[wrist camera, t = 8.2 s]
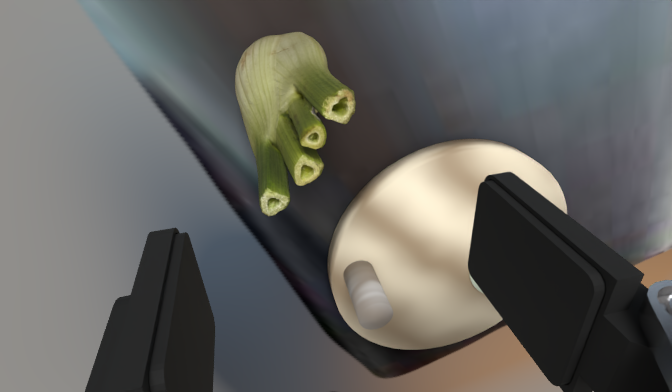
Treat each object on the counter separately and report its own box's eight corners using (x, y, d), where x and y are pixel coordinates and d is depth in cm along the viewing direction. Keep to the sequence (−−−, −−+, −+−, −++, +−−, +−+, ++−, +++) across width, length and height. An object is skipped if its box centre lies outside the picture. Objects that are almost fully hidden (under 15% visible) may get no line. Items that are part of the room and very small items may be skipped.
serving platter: (433, 87, 27) (485, 121, 22) (593, 203, 36) (658, 248, 30) (281, 297, 33) (291, 364, 28) (448, 352, 42) (481, 411, 37)
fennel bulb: (257, 129, 26) (274, 237, 16) (210, 62, 24) (196, 141, 14) (335, 83, 26) (401, 165, 16) (296, 9, 23) (346, 51, 13)
